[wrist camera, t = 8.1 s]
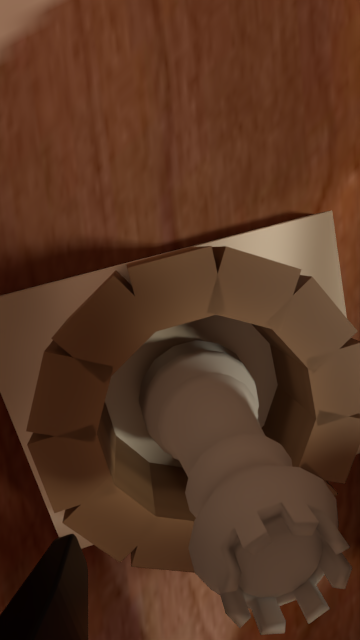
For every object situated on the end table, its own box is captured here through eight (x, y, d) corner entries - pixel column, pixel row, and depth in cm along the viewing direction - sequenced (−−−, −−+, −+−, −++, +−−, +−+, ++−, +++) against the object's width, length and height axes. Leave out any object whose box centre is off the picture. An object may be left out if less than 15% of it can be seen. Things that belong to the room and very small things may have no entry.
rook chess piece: (118, 367, 13) (119, 553, 5) (223, 317, 13) (368, 426, 6) (165, 456, 14) (221, 710, 7) (260, 409, 15) (419, 601, 7)
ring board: (315, 213, 15) (389, 199, 10) (348, 437, 17) (418, 496, 13) (-21, 300, 13) (-86, 323, 9) (70, 531, 16) (51, 630, 12)
